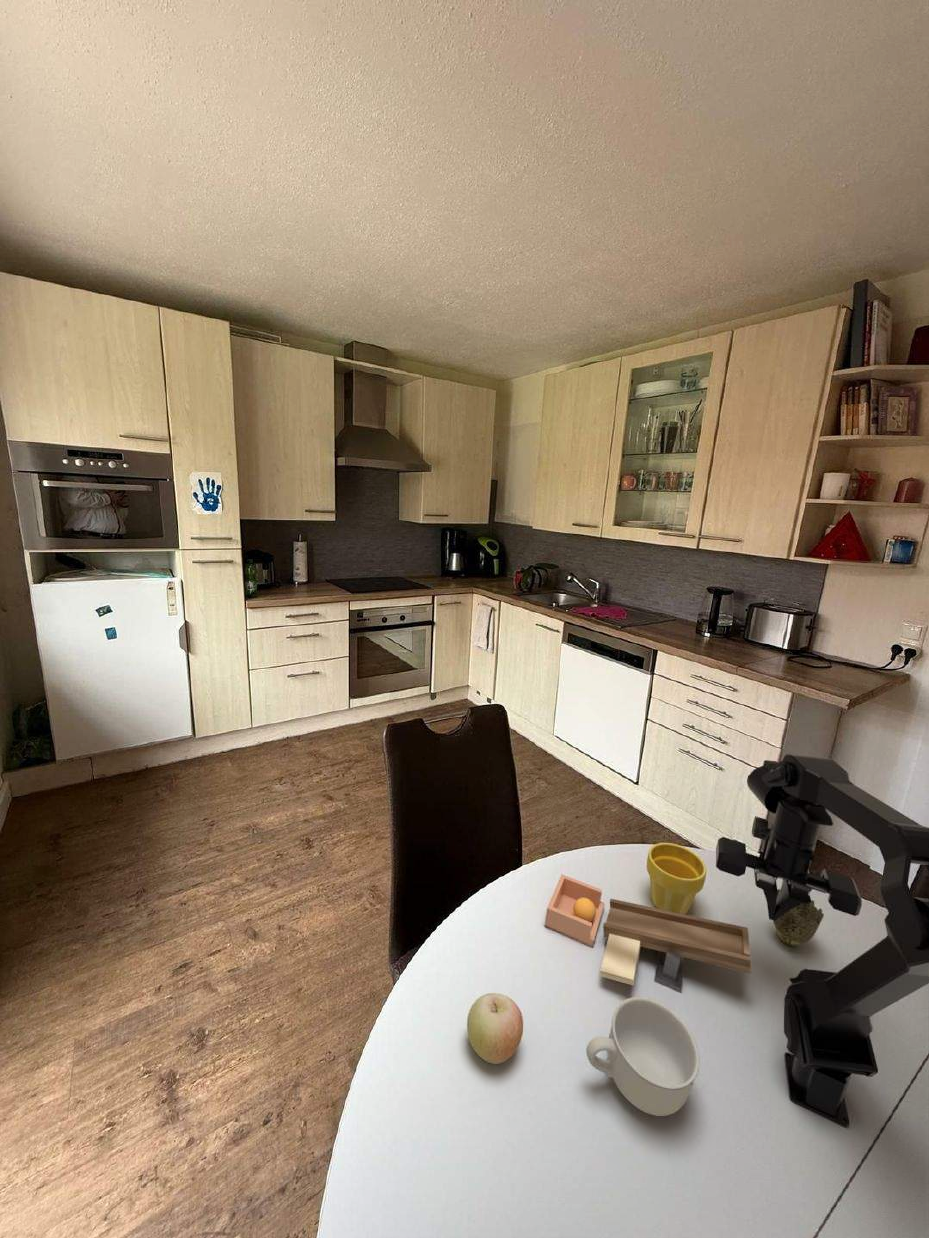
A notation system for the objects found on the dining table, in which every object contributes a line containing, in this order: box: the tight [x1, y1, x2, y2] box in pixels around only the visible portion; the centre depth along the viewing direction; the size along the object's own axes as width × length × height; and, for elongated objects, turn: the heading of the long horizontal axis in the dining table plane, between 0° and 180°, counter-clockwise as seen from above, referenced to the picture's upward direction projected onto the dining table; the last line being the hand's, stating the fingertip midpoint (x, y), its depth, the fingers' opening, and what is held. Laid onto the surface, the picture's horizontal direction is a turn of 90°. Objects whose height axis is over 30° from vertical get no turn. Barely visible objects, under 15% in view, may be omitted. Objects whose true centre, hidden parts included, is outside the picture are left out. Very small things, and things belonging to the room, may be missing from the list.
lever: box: [599, 898, 752, 986], centre depth 81 cm, size 15×22×3 cm
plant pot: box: [646, 842, 707, 915], centre depth 97 cm, size 10×10×10 cm
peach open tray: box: [544, 874, 605, 949], centre depth 92 cm, size 10×9×4 cm
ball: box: [573, 898, 596, 922], centre depth 92 cm, size 4×4×4 cm
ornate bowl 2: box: [772, 888, 824, 948], centre depth 91 cm, size 8×7×8 cm
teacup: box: [585, 996, 700, 1117], centre depth 66 cm, size 14×11×8 cm
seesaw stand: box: [653, 910, 685, 993], centre depth 86 cm, size 12×4×5 cm, turn 154°
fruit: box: [466, 992, 524, 1065], centre depth 69 cm, size 8×7×8 cm
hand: (771, 918), depth 81 cm, fingers closed
